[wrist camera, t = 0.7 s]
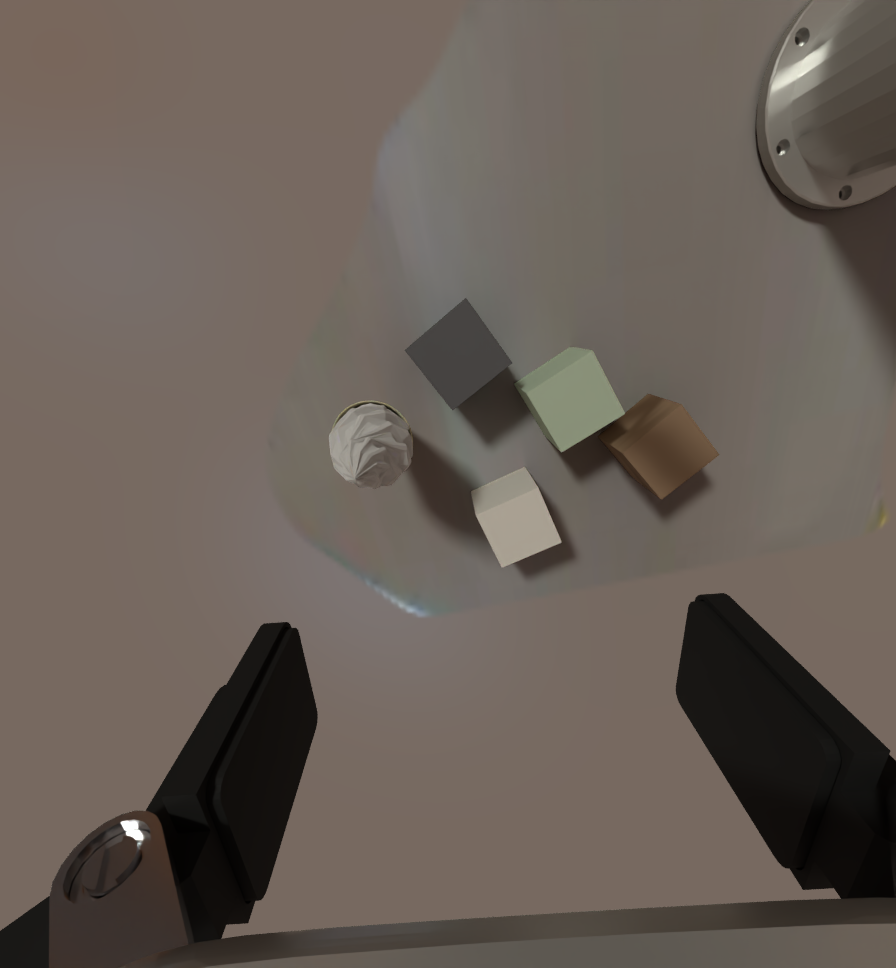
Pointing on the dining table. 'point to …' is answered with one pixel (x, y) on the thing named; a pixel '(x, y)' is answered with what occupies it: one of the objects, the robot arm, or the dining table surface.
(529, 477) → the offwhite block
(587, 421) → the sage block
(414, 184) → the dining table surface
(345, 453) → the ice cream cone
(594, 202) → the dining table surface
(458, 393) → the black block
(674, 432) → the walnut block
